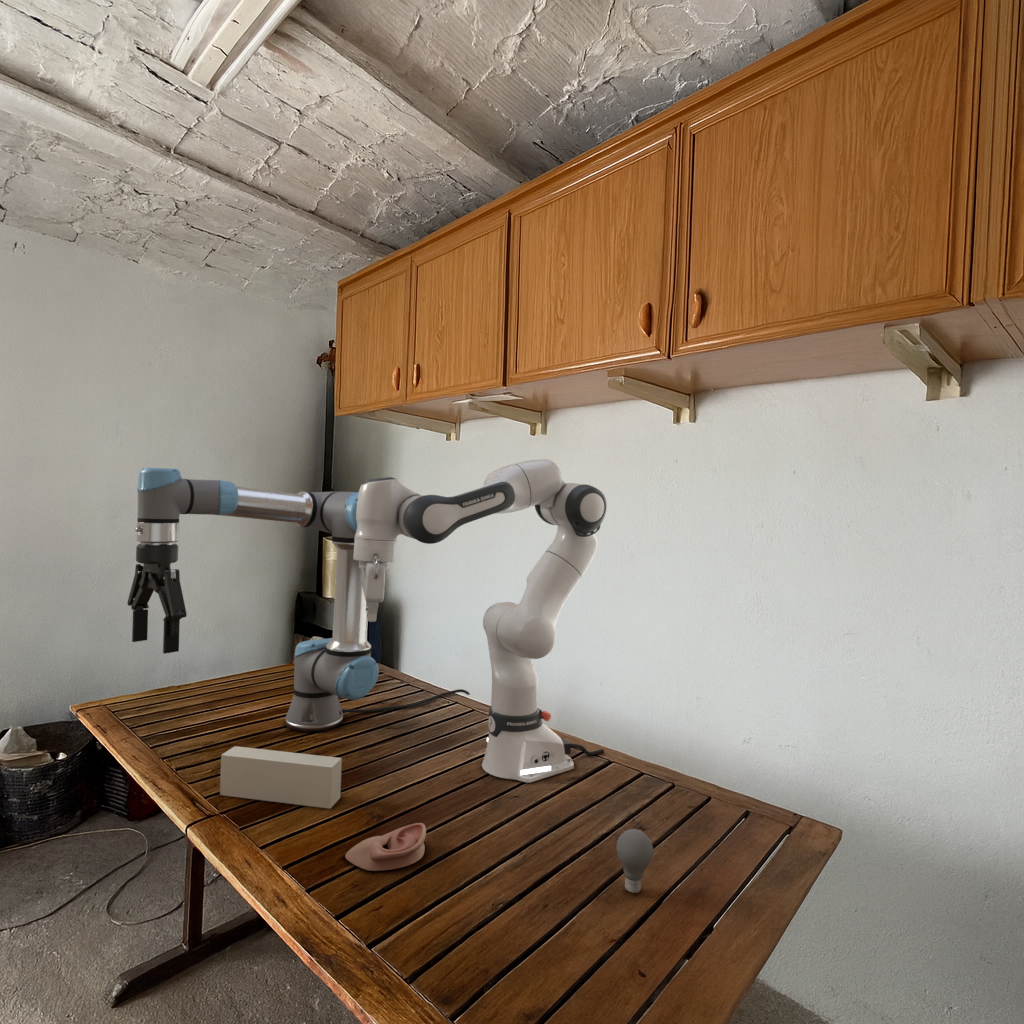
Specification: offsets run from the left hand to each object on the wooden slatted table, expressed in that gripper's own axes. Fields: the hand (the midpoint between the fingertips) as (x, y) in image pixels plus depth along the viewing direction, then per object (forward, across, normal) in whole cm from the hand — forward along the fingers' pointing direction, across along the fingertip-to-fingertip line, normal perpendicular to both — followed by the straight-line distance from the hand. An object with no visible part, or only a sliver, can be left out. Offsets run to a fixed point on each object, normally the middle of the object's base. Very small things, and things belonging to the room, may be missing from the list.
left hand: (154, 646), depth 130 cm
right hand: (-7, +31, +30) cm, 44 cm away
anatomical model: (+31, +52, +17) cm, 63 cm away
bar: (+31, +20, +17) cm, 41 cm away
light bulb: (+31, +91, +36) cm, 103 cm away
